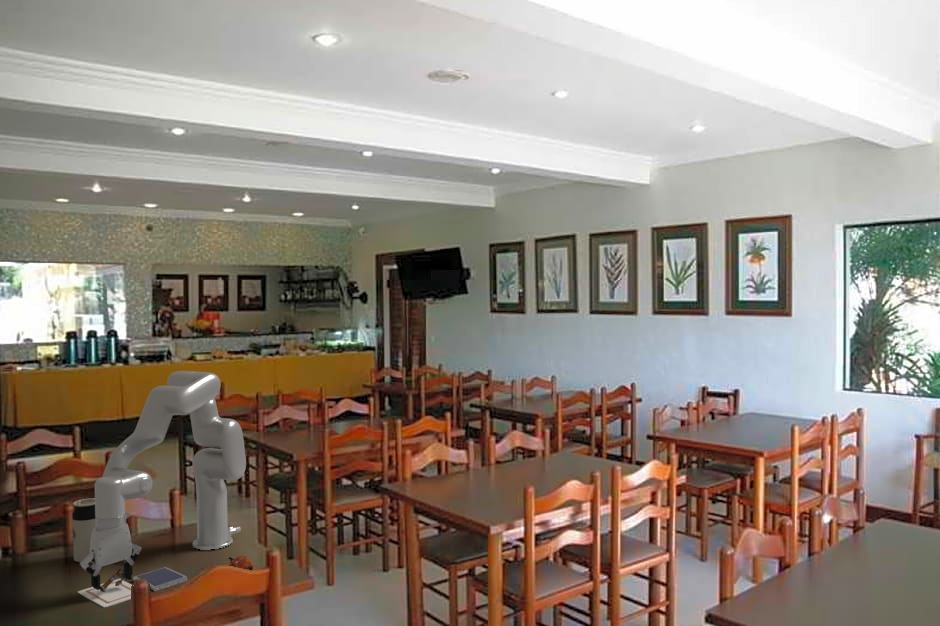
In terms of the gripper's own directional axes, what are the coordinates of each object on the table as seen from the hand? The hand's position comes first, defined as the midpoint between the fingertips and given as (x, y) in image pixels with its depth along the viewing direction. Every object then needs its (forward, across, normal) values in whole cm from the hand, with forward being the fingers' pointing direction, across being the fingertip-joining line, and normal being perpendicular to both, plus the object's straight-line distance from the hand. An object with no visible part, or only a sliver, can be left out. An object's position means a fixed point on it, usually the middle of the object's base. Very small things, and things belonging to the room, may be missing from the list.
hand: (112, 583), depth 218 cm
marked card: (+3, 0, 0) cm, 3 cm away
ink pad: (+3, -13, +2) cm, 13 cm away
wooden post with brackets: (+1, 0, 0) cm, 1 cm away
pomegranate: (+3, -28, +20) cm, 34 cm away
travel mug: (+3, -8, -33) cm, 34 cm away
